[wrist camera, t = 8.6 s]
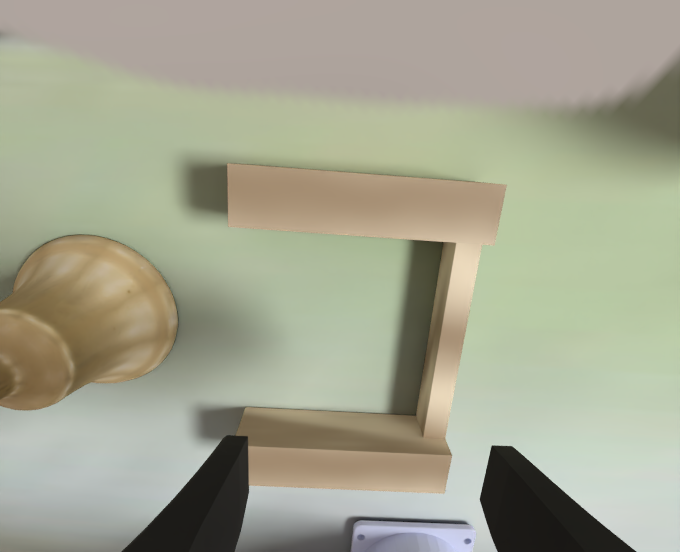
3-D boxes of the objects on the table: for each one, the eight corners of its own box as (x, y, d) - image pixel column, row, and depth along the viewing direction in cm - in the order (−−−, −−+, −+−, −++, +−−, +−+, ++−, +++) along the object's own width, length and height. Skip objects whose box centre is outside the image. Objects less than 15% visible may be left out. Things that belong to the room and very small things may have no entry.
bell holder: (429, 451, 22) (444, 493, 19) (245, 442, 21) (232, 484, 19) (477, 182, 17) (506, 184, 14) (245, 164, 17) (227, 163, 14)
